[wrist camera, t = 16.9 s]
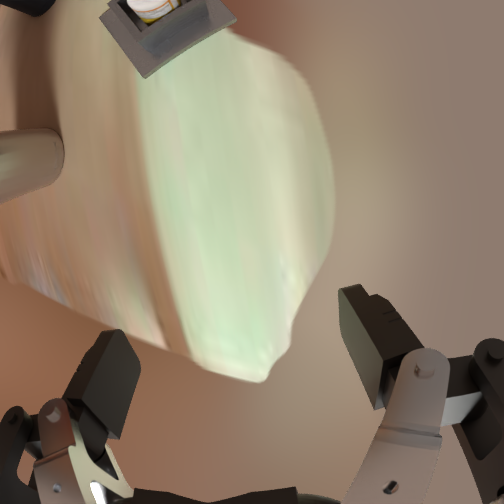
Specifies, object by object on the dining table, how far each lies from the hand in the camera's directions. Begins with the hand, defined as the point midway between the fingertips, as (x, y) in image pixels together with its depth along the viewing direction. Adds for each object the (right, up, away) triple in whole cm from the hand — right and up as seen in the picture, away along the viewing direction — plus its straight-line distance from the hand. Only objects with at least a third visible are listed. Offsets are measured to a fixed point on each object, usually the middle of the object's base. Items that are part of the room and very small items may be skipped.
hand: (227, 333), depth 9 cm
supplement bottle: (-11, +34, +15) cm, 38 cm away
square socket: (-11, +34, +16) cm, 39 cm away
